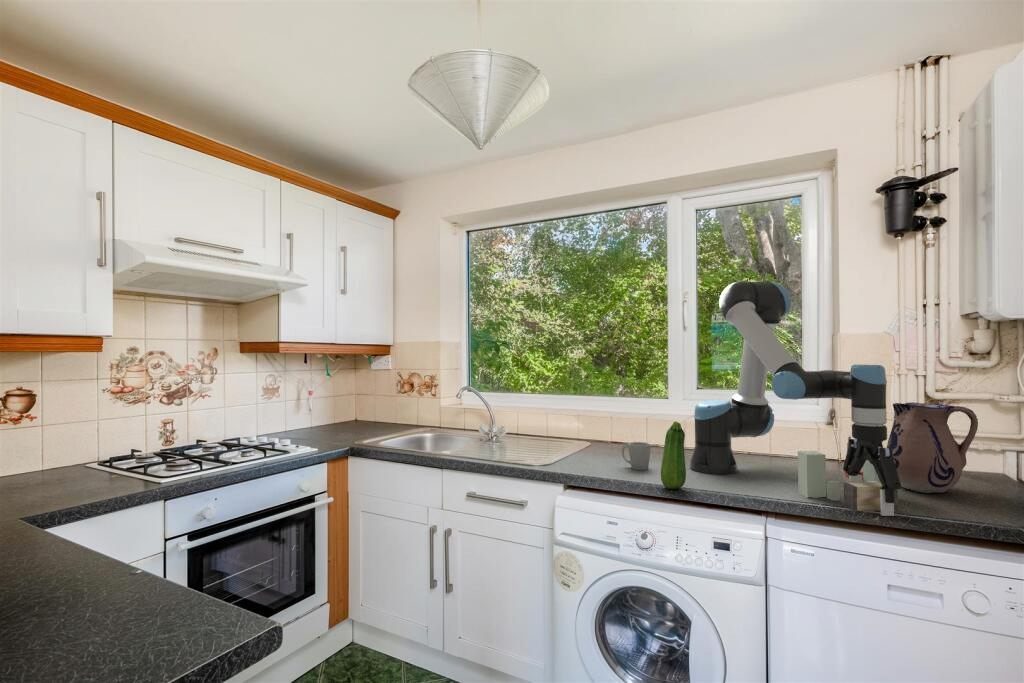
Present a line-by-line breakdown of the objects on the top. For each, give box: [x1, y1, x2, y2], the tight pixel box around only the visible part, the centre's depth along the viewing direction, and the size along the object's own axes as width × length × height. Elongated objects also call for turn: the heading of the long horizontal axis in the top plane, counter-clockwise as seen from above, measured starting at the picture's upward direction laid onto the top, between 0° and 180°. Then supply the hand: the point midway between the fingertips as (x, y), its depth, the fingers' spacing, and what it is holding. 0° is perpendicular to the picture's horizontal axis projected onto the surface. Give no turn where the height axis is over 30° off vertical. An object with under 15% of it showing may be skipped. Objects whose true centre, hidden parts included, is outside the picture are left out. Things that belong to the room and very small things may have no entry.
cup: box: [621, 441, 652, 471], centre depth 178 cm, size 8×10×8 cm
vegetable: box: [660, 420, 687, 490], centre depth 152 cm, size 7×7×20 cm
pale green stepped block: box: [797, 450, 841, 501], centre depth 143 cm, size 8×9×12 cm
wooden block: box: [843, 482, 899, 512], centre depth 132 cm, size 11×4×6 cm, turn 87°
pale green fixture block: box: [857, 458, 881, 483], centre depth 143 cm, size 8×9×12 cm
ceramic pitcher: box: [885, 401, 979, 494], centre depth 148 cm, size 18×21×25 cm
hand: (870, 507), depth 132 cm, fingers open, 12 cm apart
